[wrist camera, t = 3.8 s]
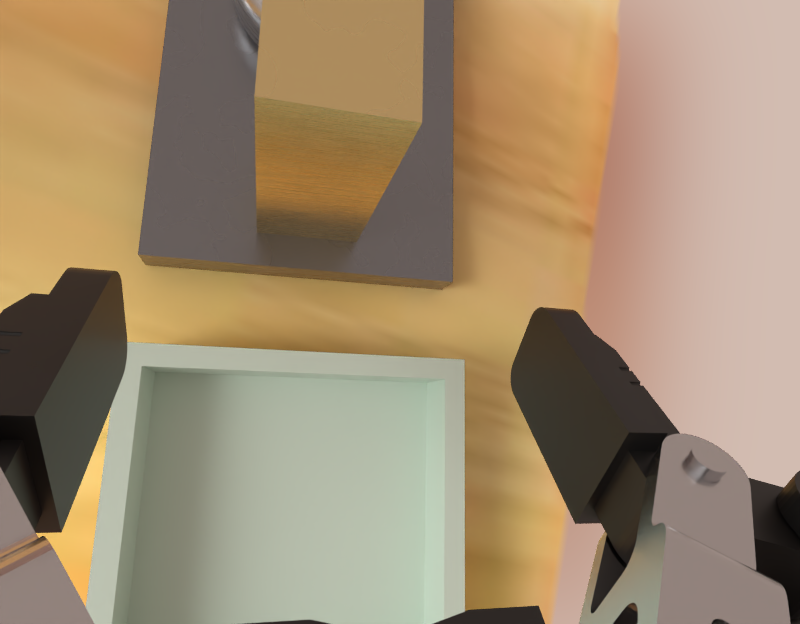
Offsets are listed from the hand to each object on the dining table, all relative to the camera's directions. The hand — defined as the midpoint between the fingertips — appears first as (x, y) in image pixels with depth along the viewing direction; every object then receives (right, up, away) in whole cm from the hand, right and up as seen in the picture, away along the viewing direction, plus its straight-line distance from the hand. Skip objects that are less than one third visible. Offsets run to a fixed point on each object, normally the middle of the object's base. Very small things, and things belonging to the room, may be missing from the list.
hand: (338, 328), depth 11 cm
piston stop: (-3, +6, +13) cm, 14 cm away
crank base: (-3, +11, +15) cm, 19 cm away
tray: (-3, -8, +11) cm, 14 cm away
